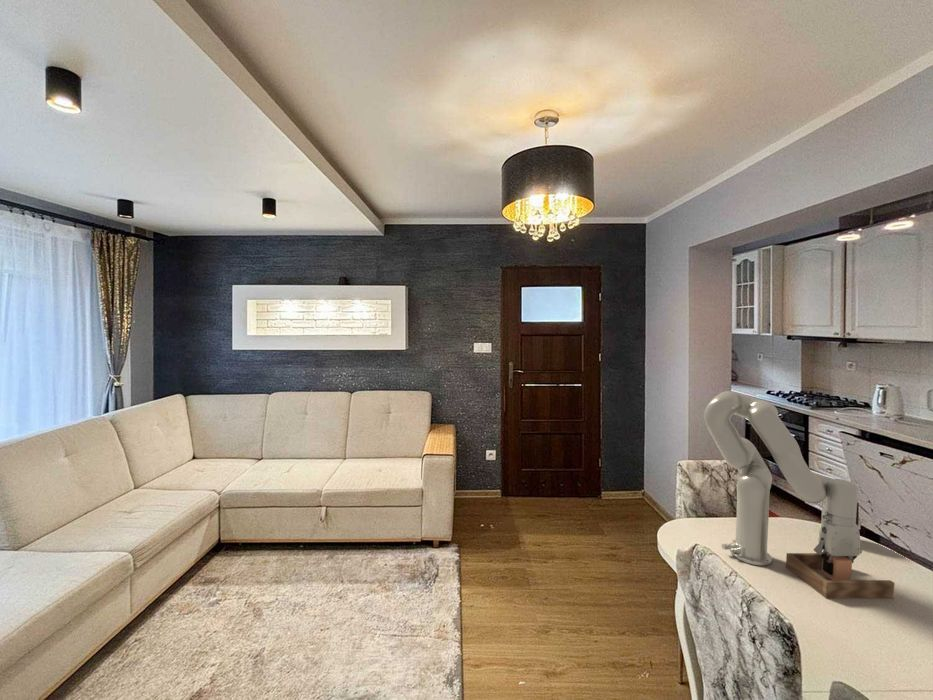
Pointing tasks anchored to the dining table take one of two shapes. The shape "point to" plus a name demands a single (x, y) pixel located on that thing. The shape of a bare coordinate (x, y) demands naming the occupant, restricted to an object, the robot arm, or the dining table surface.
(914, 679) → the dining table surface
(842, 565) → the terracotta block
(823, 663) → the dining table surface
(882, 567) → the dining table surface
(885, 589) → the brown wooden u-shaped block
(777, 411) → the robot arm
